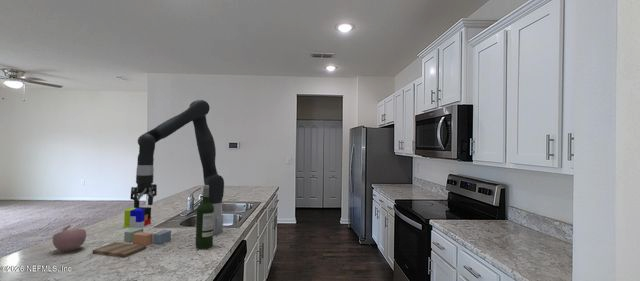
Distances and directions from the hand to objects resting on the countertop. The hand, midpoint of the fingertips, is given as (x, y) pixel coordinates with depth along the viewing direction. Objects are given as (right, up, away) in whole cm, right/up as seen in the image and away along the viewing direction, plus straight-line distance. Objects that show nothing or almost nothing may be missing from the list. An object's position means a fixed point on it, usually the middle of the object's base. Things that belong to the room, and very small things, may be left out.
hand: (143, 206), depth 156 cm
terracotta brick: (0, -18, -1) cm, 18 cm away
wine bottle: (+31, -19, -2) cm, 37 cm away
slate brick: (+8, -19, +3) cm, 20 cm away
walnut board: (-4, -18, -12) cm, 22 cm away
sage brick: (-8, -18, +5) cm, 21 cm away
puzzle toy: (-22, -18, +32) cm, 43 cm away
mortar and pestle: (-27, -18, -13) cm, 34 cm away
